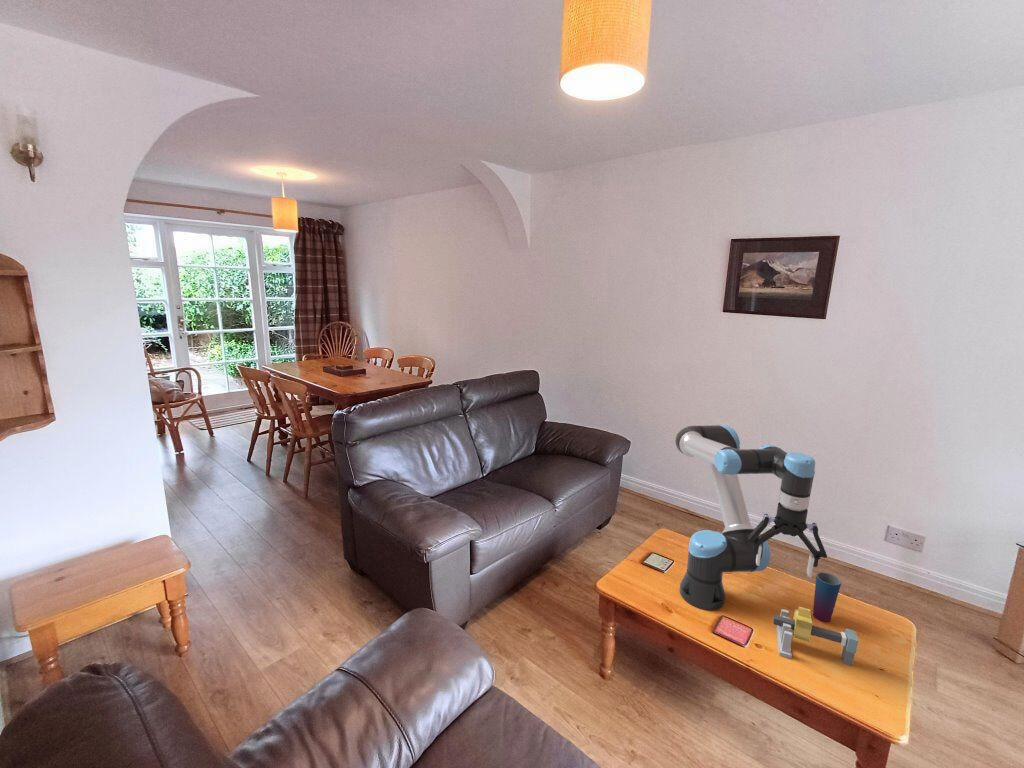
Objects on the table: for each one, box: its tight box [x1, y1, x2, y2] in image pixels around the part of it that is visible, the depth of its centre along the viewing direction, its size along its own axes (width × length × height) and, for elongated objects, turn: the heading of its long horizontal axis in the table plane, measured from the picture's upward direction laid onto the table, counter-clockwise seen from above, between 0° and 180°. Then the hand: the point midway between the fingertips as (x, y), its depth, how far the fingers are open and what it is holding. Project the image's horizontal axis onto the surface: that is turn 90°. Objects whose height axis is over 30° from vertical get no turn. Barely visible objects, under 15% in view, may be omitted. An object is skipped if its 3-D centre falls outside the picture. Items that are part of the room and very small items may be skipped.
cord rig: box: [772, 608, 859, 666], centre depth 139 cm, size 21×13×9 cm, turn 64°
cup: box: [812, 571, 842, 624], centre depth 152 cm, size 7×7×15 cm
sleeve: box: [792, 606, 813, 643], centre depth 139 cm, size 4×5×9 cm
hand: (782, 569), depth 139 cm, fingers open, 13 cm apart
